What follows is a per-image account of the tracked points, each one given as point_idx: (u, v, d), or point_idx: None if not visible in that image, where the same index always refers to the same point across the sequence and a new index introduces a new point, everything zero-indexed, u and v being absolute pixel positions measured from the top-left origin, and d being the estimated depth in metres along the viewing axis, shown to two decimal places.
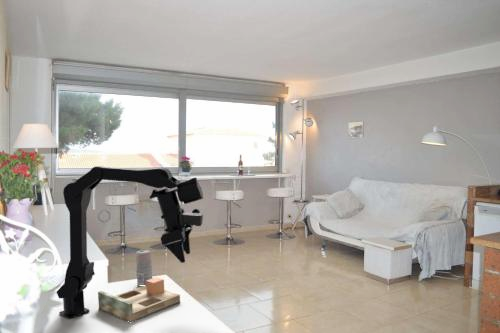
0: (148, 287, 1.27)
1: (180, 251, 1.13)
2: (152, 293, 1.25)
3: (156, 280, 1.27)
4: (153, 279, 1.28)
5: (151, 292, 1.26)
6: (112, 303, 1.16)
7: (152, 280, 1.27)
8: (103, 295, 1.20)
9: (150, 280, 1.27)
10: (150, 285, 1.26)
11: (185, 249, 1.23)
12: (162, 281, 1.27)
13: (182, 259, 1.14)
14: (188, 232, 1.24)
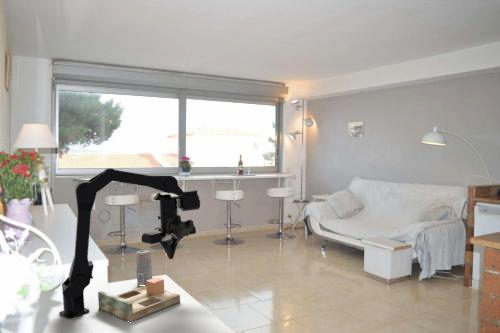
0: (148, 287, 1.27)
1: (168, 249, 1.31)
2: (152, 293, 1.25)
3: (156, 280, 1.27)
4: (153, 279, 1.28)
5: (151, 292, 1.26)
6: (112, 303, 1.16)
7: (152, 280, 1.27)
8: (103, 295, 1.20)
9: (150, 280, 1.27)
10: (150, 285, 1.26)
11: None
12: (162, 281, 1.27)
13: (169, 255, 1.32)
14: (175, 240, 1.32)
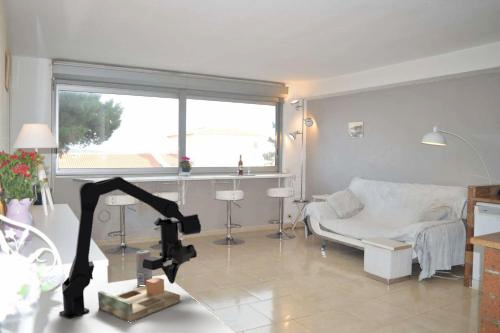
0: (148, 287, 1.27)
1: (169, 274, 1.31)
2: (152, 293, 1.25)
3: (156, 280, 1.27)
4: (153, 279, 1.28)
5: (151, 292, 1.26)
6: (112, 303, 1.16)
7: (152, 280, 1.27)
8: (103, 295, 1.20)
9: (150, 280, 1.27)
10: (150, 285, 1.26)
11: None
12: (162, 281, 1.27)
13: (170, 280, 1.32)
14: (176, 264, 1.32)
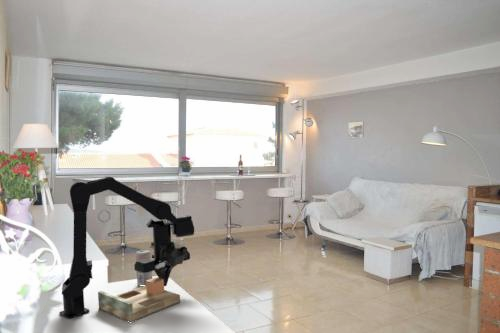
0: (148, 287, 1.27)
1: (161, 276, 1.29)
2: (152, 293, 1.25)
3: (156, 280, 1.27)
4: (153, 279, 1.28)
5: (151, 292, 1.26)
6: (112, 303, 1.16)
7: (152, 280, 1.27)
8: (103, 295, 1.20)
9: (150, 280, 1.27)
10: (150, 285, 1.26)
11: None
12: (162, 281, 1.27)
13: None
14: (168, 267, 1.29)
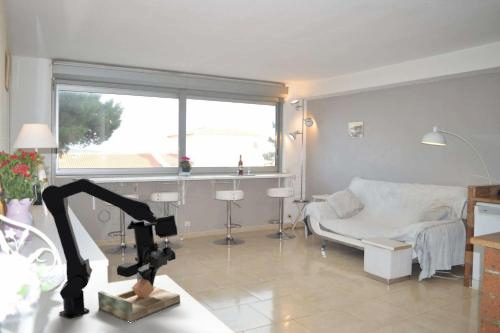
0: (136, 293, 1.23)
1: (146, 279, 1.24)
2: (143, 297, 1.22)
3: (141, 284, 1.22)
4: (138, 283, 1.23)
5: (141, 296, 1.22)
6: (112, 303, 1.16)
7: (137, 285, 1.22)
8: (103, 295, 1.20)
9: (135, 286, 1.23)
10: (138, 291, 1.22)
11: None
12: (148, 282, 1.23)
13: None
14: (153, 269, 1.24)
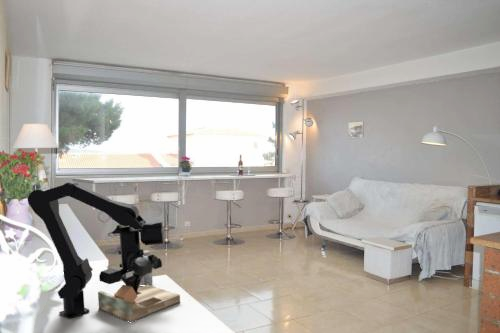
0: None
1: None
2: None
3: (124, 291, 1.17)
4: (121, 290, 1.18)
5: None
6: (112, 303, 1.16)
7: (120, 292, 1.17)
8: (103, 295, 1.20)
9: (118, 293, 1.17)
10: (121, 298, 1.16)
11: None
12: (131, 289, 1.18)
13: None
14: (137, 276, 1.20)
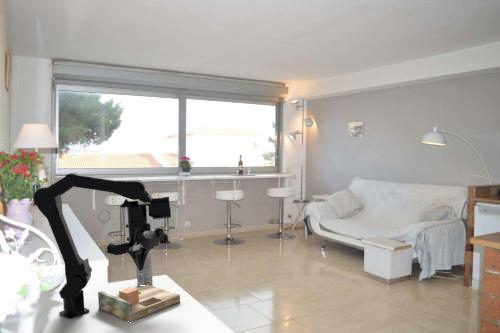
0: (121, 298, 1.18)
1: (136, 260, 1.22)
2: None
3: (130, 290, 1.19)
4: (127, 289, 1.20)
5: None
6: (112, 303, 1.16)
7: (126, 290, 1.19)
8: (103, 295, 1.20)
9: (123, 290, 1.19)
10: (124, 296, 1.17)
11: None
12: (137, 291, 1.19)
13: (138, 267, 1.23)
14: (144, 250, 1.22)
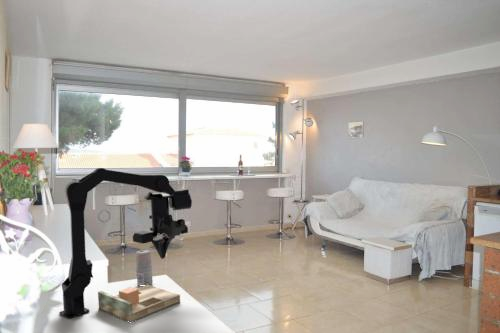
0: (121, 298, 1.18)
1: (159, 249, 1.31)
2: None
3: (130, 290, 1.19)
4: (127, 289, 1.20)
5: None
6: (112, 303, 1.16)
7: (126, 290, 1.19)
8: (103, 295, 1.20)
9: (123, 290, 1.19)
10: (124, 296, 1.17)
11: None
12: (137, 291, 1.19)
13: (161, 255, 1.32)
14: (166, 239, 1.31)
